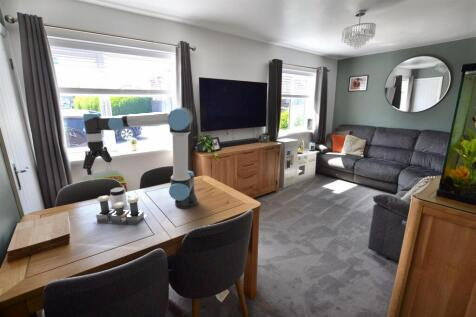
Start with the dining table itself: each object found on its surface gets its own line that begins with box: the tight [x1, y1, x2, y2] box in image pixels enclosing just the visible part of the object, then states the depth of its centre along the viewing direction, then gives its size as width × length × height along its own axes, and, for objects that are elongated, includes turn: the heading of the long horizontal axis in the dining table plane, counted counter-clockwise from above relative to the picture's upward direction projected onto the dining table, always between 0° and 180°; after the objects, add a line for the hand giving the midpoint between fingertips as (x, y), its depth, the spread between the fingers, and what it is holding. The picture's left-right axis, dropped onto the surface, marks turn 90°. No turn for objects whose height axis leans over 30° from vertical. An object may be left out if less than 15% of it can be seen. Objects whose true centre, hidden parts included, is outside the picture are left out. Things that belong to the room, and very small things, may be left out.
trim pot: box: [120, 213, 127, 224], centre depth 125 cm, size 3×3×5 cm
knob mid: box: [113, 202, 126, 215], centre depth 129 cm, size 6×6×9 cm
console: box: [93, 208, 148, 227], centre depth 130 cm, size 26×12×5 cm, turn 85°
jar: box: [109, 187, 128, 208], centre depth 146 cm, size 9×8×12 cm
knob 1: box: [97, 195, 110, 214], centre depth 129 cm, size 6×6×9 cm
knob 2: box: [127, 196, 139, 215], centre depth 127 cm, size 6×6×9 cm
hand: (100, 176), depth 132 cm, fingers open, 13 cm apart
